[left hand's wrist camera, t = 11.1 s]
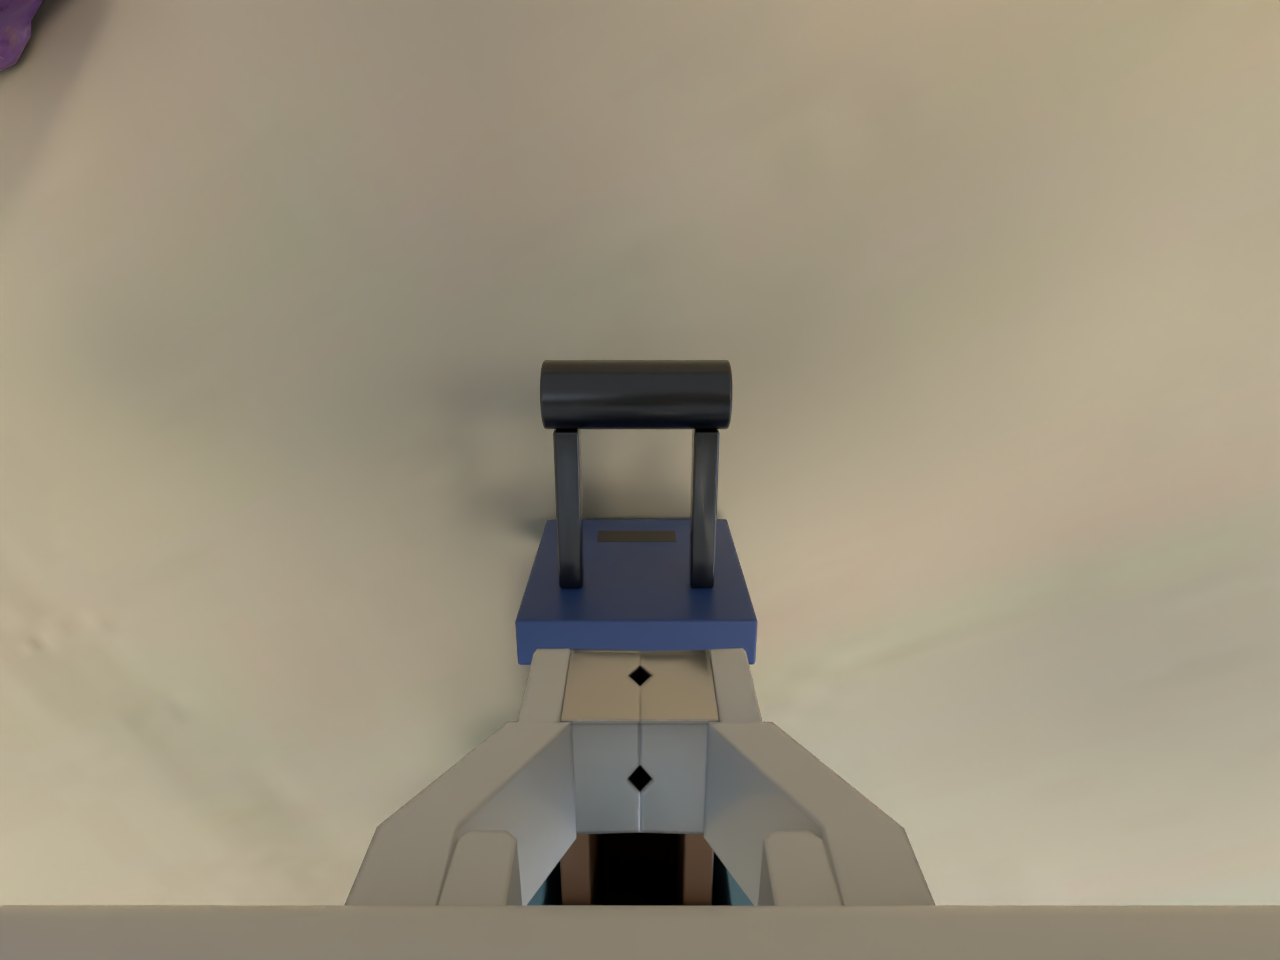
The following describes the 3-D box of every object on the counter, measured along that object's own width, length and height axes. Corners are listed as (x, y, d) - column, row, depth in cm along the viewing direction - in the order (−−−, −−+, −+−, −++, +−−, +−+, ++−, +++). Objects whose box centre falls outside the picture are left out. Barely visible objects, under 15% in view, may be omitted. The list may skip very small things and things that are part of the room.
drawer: (539, 334, 21) (499, 375, 15) (734, 334, 21) (771, 375, 15) (566, 975, 29) (548, 1167, 23) (708, 974, 29) (726, 1167, 23)
